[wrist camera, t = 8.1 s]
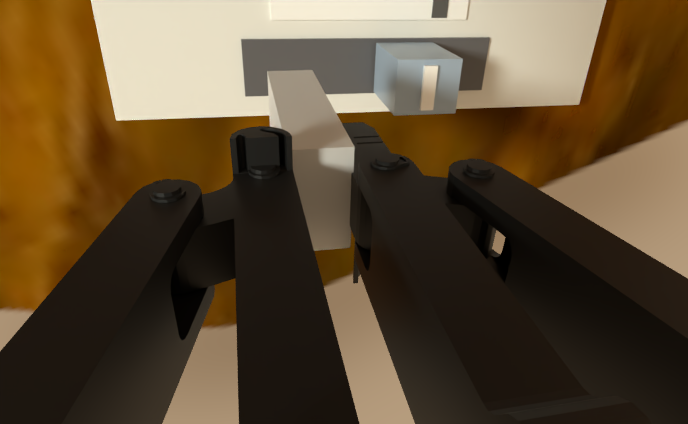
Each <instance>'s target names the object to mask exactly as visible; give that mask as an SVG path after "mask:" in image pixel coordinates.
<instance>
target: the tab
mask: <svg viewBox="0 0 688 424" xmlns="http://www.w3.org/2000/svg"><path fill="white" fill-rule="evenodd" d="M462 62H463V59H462V58H460V57H459V56H457V55H455V54H453V53H451V52H450V51H448V50H446V49H444V48H442V47H440V46H439V45H437V44H435V43H433V42H407V43H376V56H375V75H374V93H375V94H376V95H377V96H378V98H379V99H380V100H381V101H382V102H383V103H384V105H385V106H386V107H387V108H388V109H389V110H390V112H391V113H392V114H393V115H421V114H449V113H455V112H456V105H457V98H458V91H459V83H460V76H461V69H462Z"/></svg>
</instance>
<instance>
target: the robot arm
mask: <svg viewBox="0 0 688 424" xmlns="http://www.w3.org/2000/svg"><path fill="white" fill-rule="evenodd" d="M267 76H268V96H269V115H270V127H261V126H259V127H251V128H246V129H241V130H239V131H237V132H235V133H234V134H232V136H231V138H230V147H231V157H232V167H233V181H232V182H231V183H230V184H229V185H228V186H226V187H225V188H222V189H220V190H218V191H215V192H211V193H207V194H203V195H202V193H201V189H200V188H199V186H198V185H197V184H195V183H192V182H190V181H185V180H171V179H165V180H162V181H161V180H159V181H156V182H153V183H152V184H149V185H147V186H144V187H142V188H141V189H140V190H139V191H137V192H136V193H135V194H134V195H133V196H132V198H131V199H130V200H129V201H128V202H127V203H126V205H125V206H124V207H123V208H122V209H121V211H120V212H119V213H118V214H117V215H116V216H115V218H114V219H113V220H112V221H111V222H110V223H109V225H108V226H107V227H106V228H105V229H104V230H103V232H102V233H101V234H100V235H99V236H98V237H97V239H96V240H95V241H94V242H93V243H92V245H91V246H90V247H89V248H88V249H87V250H86V252H85V253H84V254H83V255H82V256H81V257H80V259H79V260H78V261H77V262H76V263H75V264H74V266H73V267H72V268H71V269H70V270H69V272H68V273H67V274H66V275H65V276H64V277H63V279H62V280H61V281H60V282H59V283H58V284H57V286H56V287H55V288H54V289H53V290H52V291H51V293H50V294H49V295H48V296H47V297H46V299H45V300H44V301H43V302H42V303H41V304H40V306H39V307H38V308H37V309H36V310H35V311H34V313H33V314H32V315H31V316H30V317H29V318H28V320H27V321H26V322H25V323H24V324H23V326H22V327H21V328H20V329H19V330H18V331H17V333H16V334H15V335H14V336H13V337H12V339H11V340H10V341H9V342H8V343H7V344H6V346H5V347H4V348H3V349H2V350H1V351H0V424H162V423H163V420H164V417H165V415H166V413H167V410H168V408H169V405H170V403H171V400H172V398H173V395H174V393H175V390H176V388H177V386H178V383H179V381H180V378H181V376H182V373H183V371H184V368H185V366H186V363H187V361H188V358H189V356H190V354H191V351H192V349H193V346H194V344H195V341H196V339H197V336H198V334H199V331H200V329H201V326H202V324H203V322H204V319H205V317H206V314H207V312H208V309H209V307H210V304H211V302H212V299H213V297H214V290H215V288H214V285H215V284H218V283H221V282H224V281H228V280H231V279H234V278H236V315H237V357H238V399H239V424H359V421H358V417H357V413H356V409H355V405H354V402H353V398H352V394H351V390H350V386H349V383H348V379H347V375H346V371H345V367H344V363H343V360H342V356H341V352H340V348H339V345H338V341H337V337H336V333H335V329H334V325H333V322H332V318H331V314H330V310H329V306H328V302H327V299H326V295H325V291H324V287H323V283H322V279H321V276H320V272H319V268H318V264H317V260H316V257H315V253H314V251H317V250H328V249H339V248H350V242H351V230H352V232H353V235H354V237H355V253H354V273H353V283H358V276H359V275H360V274H361V277H362V280H363V282H364V285H365V288H366V291H367V293H368V296H369V299H370V302H371V304H372V307H373V309H374V312H375V315H376V318H377V321H378V323H379V326H380V329H381V331H382V334H383V337H384V340H385V342H386V345H387V348H388V351H389V353H390V356H391V359H392V361H393V364H394V367H395V370H396V372H397V375H398V378H399V381H400V383H401V386H402V389H403V391H404V394H405V397H406V400H407V402H408V405H409V408H410V411H411V414H412V416H413V419H414V422H415V424H688V279H687V278H686V277H684V276H682V275H681V274H679V273H677V272H676V271H674V270H672V269H671V268H669V267H667V266H666V265H664V264H662V263H661V262H659V261H657V260H656V259H653V258H652V257H651V256H649V255H647V254H645V253H644V252H642V251H641V250H639V249H637V248H636V247H634V246H632V245H630V244H629V243H627V242H625V241H624V240H622V239H620V238H619V237H617V236H615V235H614V234H612V233H610V232H609V231H607V230H605V229H604V228H602V227H600V226H599V225H597V224H595V223H594V222H592V221H590V220H588V219H587V218H585V217H584V216H582V215H580V214H579V213H577V212H575V211H574V210H572V209H570V208H569V207H567V206H565V205H564V204H562V203H560V202H559V201H557V200H555V199H554V198H552V197H550V196H549V195H547V194H545V193H543V192H542V191H540V190H538V189H537V188H535V187H533V186H532V185H530V184H528V183H527V182H525V181H523V180H522V179H520V178H518V177H517V176H515V175H513V174H512V173H510V172H508V171H507V170H505V169H503V168H502V167H500V166H497V165H495V164H493V163H490V162H485V161H484V160H481V159H477V160H476V159H468V160H460V161H457V162H454V163H453V164H452V165H451V166H450V167H449V173H448V178H442V177H431V176H424V175H423V174H422V173H421V172H420V170H419V169H418V168H417V166H416V165H415V164H414V162H412V161H411V160H410V159H409V158H407V157H405V156H401V155H398V154H392V153H391V152H390V151H389V150H388V148H387V147H386V145H385V144H384V143H383V141H382V139H381V138H380V137H379V135H378V134H377V132H376V131H375V129H374V128H372V127H370V126H368V125H367V124H365V123H363V122H361V123H341V121H340V119H339V118H338V116H337V114H336V112H335V110H334V109H333V107H332V105H331V103H330V101H329V100H328V98H327V96H326V94H325V92H324V90H323V89H322V87H321V85H320V83H319V81H318V80H317V78H316V76H315V74H314V72H313V71H312V70H291V71H267ZM496 230H498V231H499V232H500V233H502V234H503V235H504V236H505V237H506V238H505V242H504V246H503V250H502V253H501V255H500V254H498V253H497V252H495V251H494V250H492V246H493V241H494V237H495V233H496Z"/></svg>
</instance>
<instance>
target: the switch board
mask: <svg viewBox="0 0 688 424" xmlns="http://www.w3.org/2000/svg"><path fill="white" fill-rule="evenodd" d="M606 1H607V0H91V3H92V8H93V13H94V17H95V22H96V27H97V32H98V36H99V41H100V46H101V51H102V55H103V60H104V65H105V70H106V74H107V79H108V84H109V89H110V93H111V98H112V103H113V107H114V112H115V117H116V120H145V119H175V118H204V117H234V116H263V115H269V96H268V76H267V71H291V70H312V71H313V72H314V74H315V76H316V78H317V80H318V81H319V83H320V85H321V87H322V89H323V90H324V92H325V94H326V96H327V98H328V100H329V101H330V103H331V105H332V107H333V109H334V110H335V112H336V113H351V112H381V111H390V110H389V109H388V108H387V107H386V106H385V105H384V103H383V102H382V101H381V100H380V99H379V98H378V96H377V95H376V94H375V93H374V75H375V56H376V43H407V42H433V43H435V44H437V45H439V46H440V47H442V48H444V49H446V50H448V51H450V52H451V53H453V54H455V55H457V56H459V57H460V58H462V59H463V62H462V69H461V76H460V83H459V91H458V98H457V105H456V109H469V108H498V107H528V106H557V105H579V103H580V99H581V95H582V91H583V88H584V84H585V80H586V76H587V72H588V69H589V65H590V61H591V57H592V54H593V50H594V46H595V42H596V38H597V35H598V31H599V27H600V23H601V19H602V16H603V12H604V8H605V4H606Z"/></svg>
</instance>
